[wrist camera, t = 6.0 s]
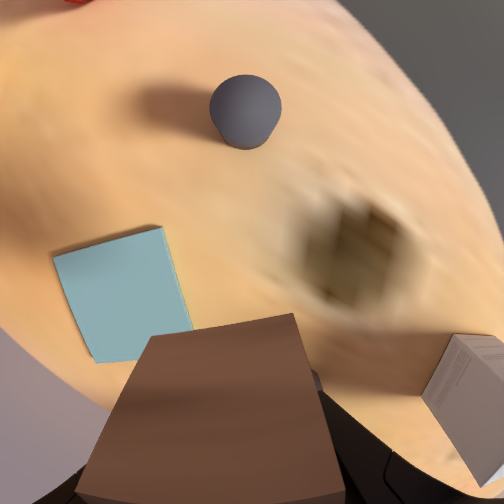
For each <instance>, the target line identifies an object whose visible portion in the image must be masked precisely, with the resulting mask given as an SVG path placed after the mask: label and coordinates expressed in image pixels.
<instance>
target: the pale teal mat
mask: <svg viewBox="0 0 504 504" xmlns="http://www.w3.org/2000/svg"><path fill="white" fill-rule="evenodd" d="M53 260H54V263H55V266H56V269H57V272H58V275H59V278H60V281H61V284H62V287H63V289H64V292H65V295H66V297H67V300H68V303H69V305H70V308H71V310H72V313H73V315H74V317H75V320H76V322H77V324H78V327H79V329H80V331H81V334H82V336H83V338H84V340H85V342H86V344H87V347H88V349H89V351H90V353H91V355H92V357H93V359H94V361H95V363H110V362H122V361H133V360H139V358H140V356H141V354H142V352H143V350H144V349H145V347H146V345H147V343H148V341H149V339H150V337H151V336H155V335H163V334H171V333H178V332H185V331H192V330H194V329H193V326H192V323H191V320H190V317H189V314H188V311H187V308H186V304H185V301H184V298H183V295H182V292H181V289H180V285H179V282H178V279H177V275H176V272H175V269H174V265H173V262H172V258H171V255H170V251H169V248H168V244H167V241H166V237H165V233H164V230H163V227H159V228H156V229H152V230H148V231H144V232H140V233H136V234H133V235H129V236H125V237H121V238H118V239H114V240H110V241H107V242H103V243H100V244H96V245H93V246H89V247H85V248H82V249H79V250H75V251H72V252H68V253H65V254H62V255H58V256H56V257H54V258H53Z"/></svg>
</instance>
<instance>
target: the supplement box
mask: <svg viewBox="0 0 504 504" xmlns="http://www.w3.org/2000/svg"><path fill="white" fill-rule="evenodd" d="M421 398H422V399H423V401H424V402H425V403H426V405H427V406H428V408H429V409H430V411H431V412H432V414H433V415H434V417H435V418H436V420H437V421H438V422H439V424H440V425H441V427H442V428H443V430H444V431H445V433H446V434H447V436H448V437H449V439H450V440H451V442H452V443H453V445H454V447H455V448H456V450H457V451H458V453H459V454H460V456H461V457H462V459H463V460H464V462H465V464H466V465H467V467H468V468H469V470H470V472H471V473H472V475H473V477H474V478H475V480H476V481H477V483H478V485H479V487H480V488H482V487H484V486H486V485H488V484H490V483H492V482H494V481H496V480H497V479H499V478H501V477H503V476H504V343H503V342H502V341H500V340H499V339H498V338H497V337H495V336H480V335H463V334H453V336H452V338H451V340H450V342H449V344H448V346H447V348H446V350H445V352H444V354H443V356H442V358H441V360H440V362H439V364H438V366H437V368H436V370H435V372H434V374H433V375H432V377H431V379H430V381H429V383H428V385H427V386H426V388H425V390H424V392H423V393H422V396H421Z"/></svg>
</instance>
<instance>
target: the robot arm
mask: <svg viewBox="0 0 504 504" xmlns="http://www.w3.org/2000/svg"><path fill="white" fill-rule="evenodd" d="M317 392H318V396H319V399H320V402H321V406H322V409H323V412H324V416H325V419H326V423H327V426H328V429H329V433H330V436H331V440H332V443H333V447H334V450H335V454H336V457H337V461H338V464H339V468H340V471H341V475H342V479H343V482H344V486H345V489H346V492H345V504H504V498H494V499H486V498H478V497H473V496H470V495H467V494H465V493H463V492H461V491H459V490H457V489H455V488H453V487H451V486H449V485H447V484H445V483H443V482H441V481H439V480H437V479H435V478H433V477H431V476H430V475H428V474H426V473H425V472H423V471H421V470H419V469H418V468H416V467H415V466H413V465H412V464H410V463H409V462H408V461H406V460H405V459H404V458H402V457H401V456H400V455H398V454H397V453H396V452H395V451H393V452H392V449H391V448H390V447H388V446H387V445H386V444H385V443H383V442H382V441H381V440H380V439H378V438H377V437H376V436H375V435H374V434H372V433H371V432H370V431H369V430H368V429H366V428H365V427H364V426H363V425H362V424H360V423H359V422H358V421H357V420H356V419H354V418H353V417H352V416H351V415H350V414H349V413H347V412H346V411H345V410H344V409H343V408H342V407H340V406H339V405H338V404H337V403H336V402H335V401H334V400H332V399H331V398H330V397H329V396H328V395H327V394H326V393H324V392H323V391H322V390H317ZM85 467H86V465H84V466H83V467H82V468H81V469H80V470H78V471H77V474H76V473H75V474H74V475H72V476H71V477H70V478H69V479H68V480H66V481H65V482H64V483H62V484H61V485H60V486H58V487H57V488H56V489H54V490H53V491H52V492H50V493H48V494H47V495H45V496H44V497H42V498H41V499H39V500H37V501H36V502H34V503H32V504H88V503H86V502H85V501H84V500H83V499H82V498H81V497H80V496H79V495H78V494H77V493H76V492H75V489H76V487H77V485H78V482H79V480H80V478H81V476H82V473H83V471H84V469H85Z"/></svg>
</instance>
